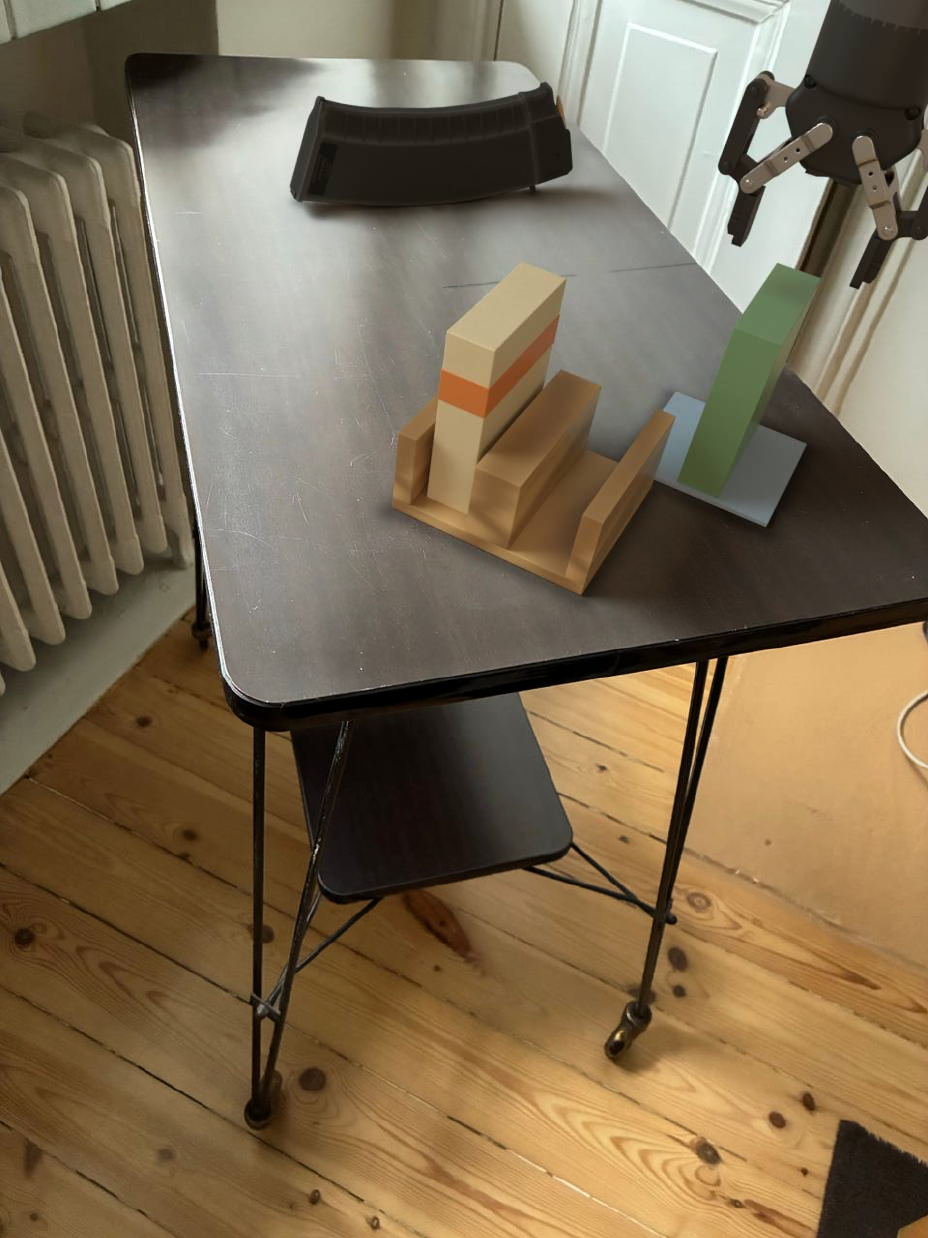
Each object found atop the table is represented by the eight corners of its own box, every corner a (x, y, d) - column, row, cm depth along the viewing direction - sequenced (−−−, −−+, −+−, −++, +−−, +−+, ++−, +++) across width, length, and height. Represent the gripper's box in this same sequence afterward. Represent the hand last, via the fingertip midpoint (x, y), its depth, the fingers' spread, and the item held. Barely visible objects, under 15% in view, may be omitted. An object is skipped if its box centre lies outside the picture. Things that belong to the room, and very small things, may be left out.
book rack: (651, 487, 78) (676, 415, 72) (580, 595, 69) (603, 523, 64) (479, 413, 81) (490, 339, 76) (391, 507, 73) (397, 432, 67)
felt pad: (805, 447, 84) (807, 443, 83) (765, 527, 76) (767, 523, 76) (674, 394, 86) (676, 390, 86) (624, 467, 79) (625, 463, 79)
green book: (757, 427, 84) (821, 278, 73) (717, 499, 77) (782, 344, 67) (719, 412, 85) (777, 262, 74) (676, 481, 78) (733, 326, 67)
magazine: (270, 123, 92) (564, 18, 94) (262, 108, 93) (550, 5, 96) (320, 279, 105) (576, 184, 108) (312, 263, 107) (563, 170, 110)
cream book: (533, 438, 78) (568, 277, 68) (468, 516, 71) (495, 351, 61) (493, 421, 79) (521, 260, 69) (425, 497, 72) (445, 330, 62)
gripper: (764, -20, 56) (683, 249, 68) (1018, 52, 52) (886, 322, 64) (799, -47, 60) (717, 209, 72) (1034, 18, 57) (908, 275, 69)
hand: (797, 262), depth 68 cm, fingers open, 8 cm apart
